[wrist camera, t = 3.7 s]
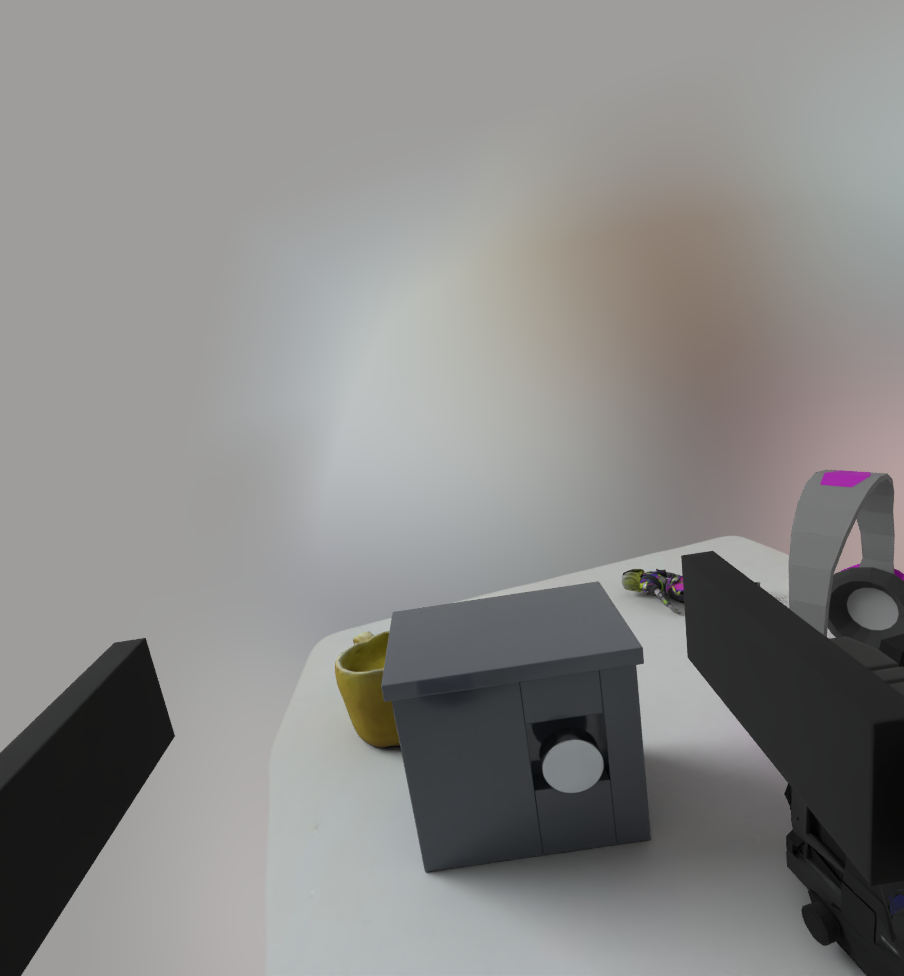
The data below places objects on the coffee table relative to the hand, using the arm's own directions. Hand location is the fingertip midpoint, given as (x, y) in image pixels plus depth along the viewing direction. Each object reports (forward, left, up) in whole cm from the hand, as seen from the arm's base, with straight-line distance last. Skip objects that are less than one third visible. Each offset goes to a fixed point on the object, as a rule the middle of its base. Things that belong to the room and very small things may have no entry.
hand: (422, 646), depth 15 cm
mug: (-19, +38, -29) cm, 51 cm away
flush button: (0, +22, -23) cm, 32 cm away
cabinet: (-4, +27, -29) cm, 39 cm away
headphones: (+23, +43, -29) cm, 56 cm away
